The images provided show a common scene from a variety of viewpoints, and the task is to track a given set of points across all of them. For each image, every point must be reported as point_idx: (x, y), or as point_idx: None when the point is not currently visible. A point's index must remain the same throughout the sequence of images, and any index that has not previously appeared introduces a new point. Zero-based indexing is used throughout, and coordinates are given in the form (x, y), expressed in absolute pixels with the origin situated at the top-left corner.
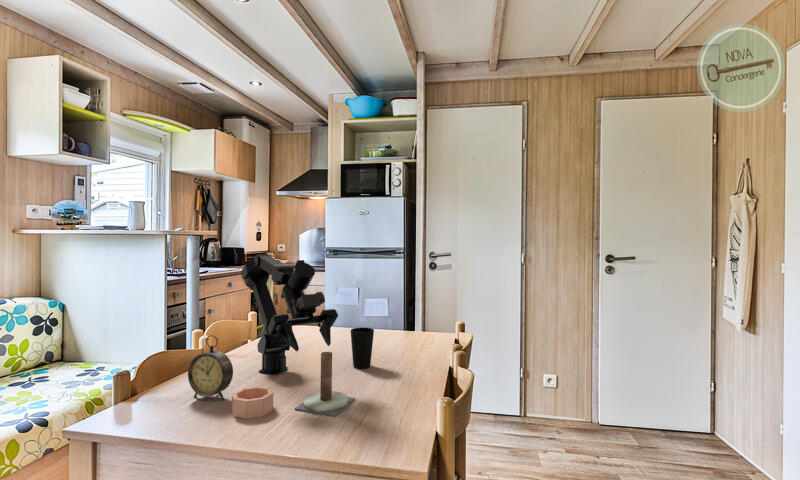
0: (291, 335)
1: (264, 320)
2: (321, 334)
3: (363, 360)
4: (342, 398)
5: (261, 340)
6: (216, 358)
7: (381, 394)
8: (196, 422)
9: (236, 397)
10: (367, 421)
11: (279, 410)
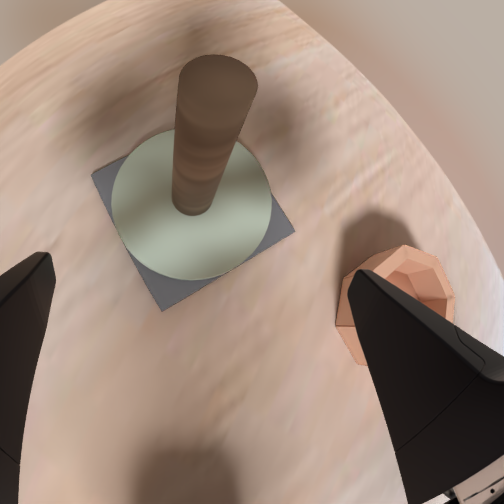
0: (464, 338)
1: None
2: (19, 460)
3: None
4: (144, 164)
5: None
6: None
7: (12, 163)
8: (469, 313)
9: (448, 303)
10: (174, 59)
11: (330, 260)
